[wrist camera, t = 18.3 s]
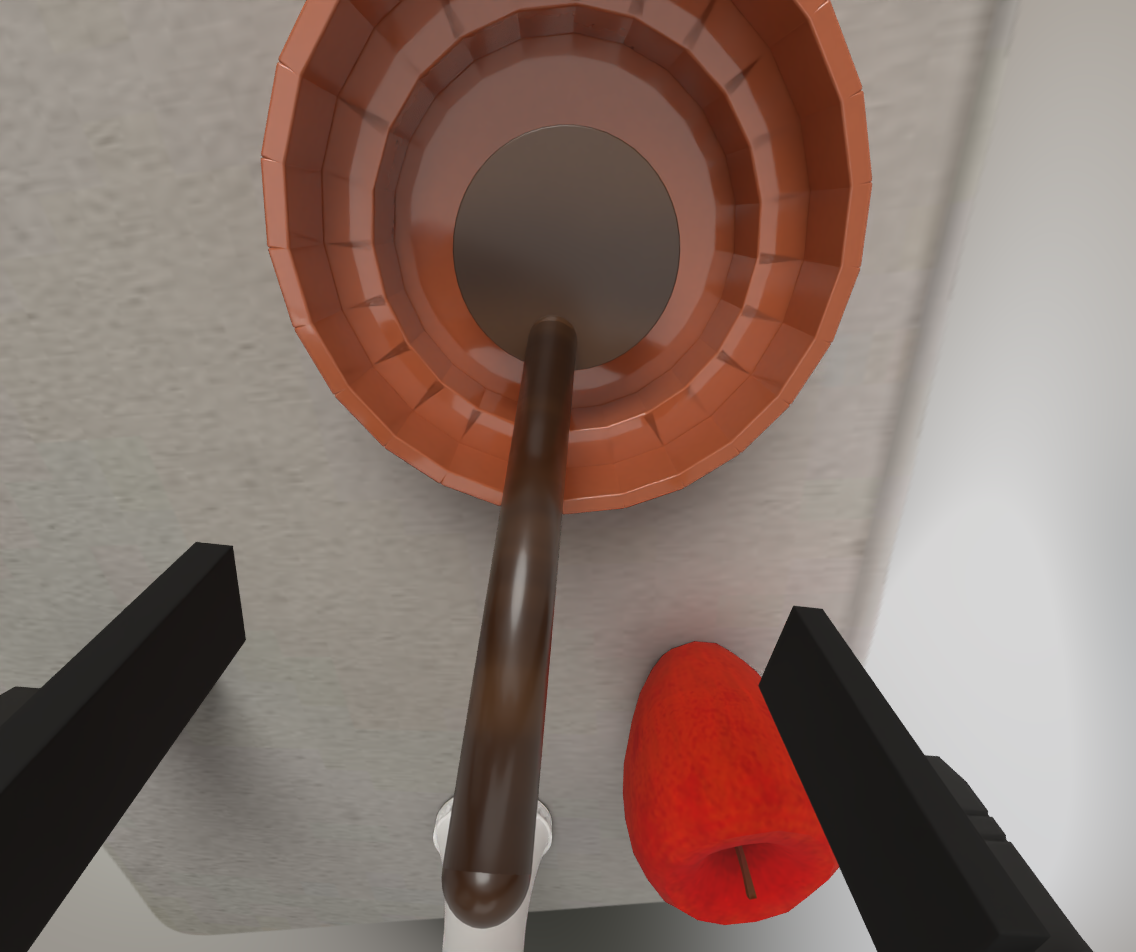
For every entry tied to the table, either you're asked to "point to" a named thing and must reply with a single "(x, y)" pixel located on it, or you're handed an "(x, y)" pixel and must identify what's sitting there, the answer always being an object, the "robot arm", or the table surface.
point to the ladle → (540, 447)
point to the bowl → (567, 97)
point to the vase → (505, 942)
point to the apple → (718, 793)
